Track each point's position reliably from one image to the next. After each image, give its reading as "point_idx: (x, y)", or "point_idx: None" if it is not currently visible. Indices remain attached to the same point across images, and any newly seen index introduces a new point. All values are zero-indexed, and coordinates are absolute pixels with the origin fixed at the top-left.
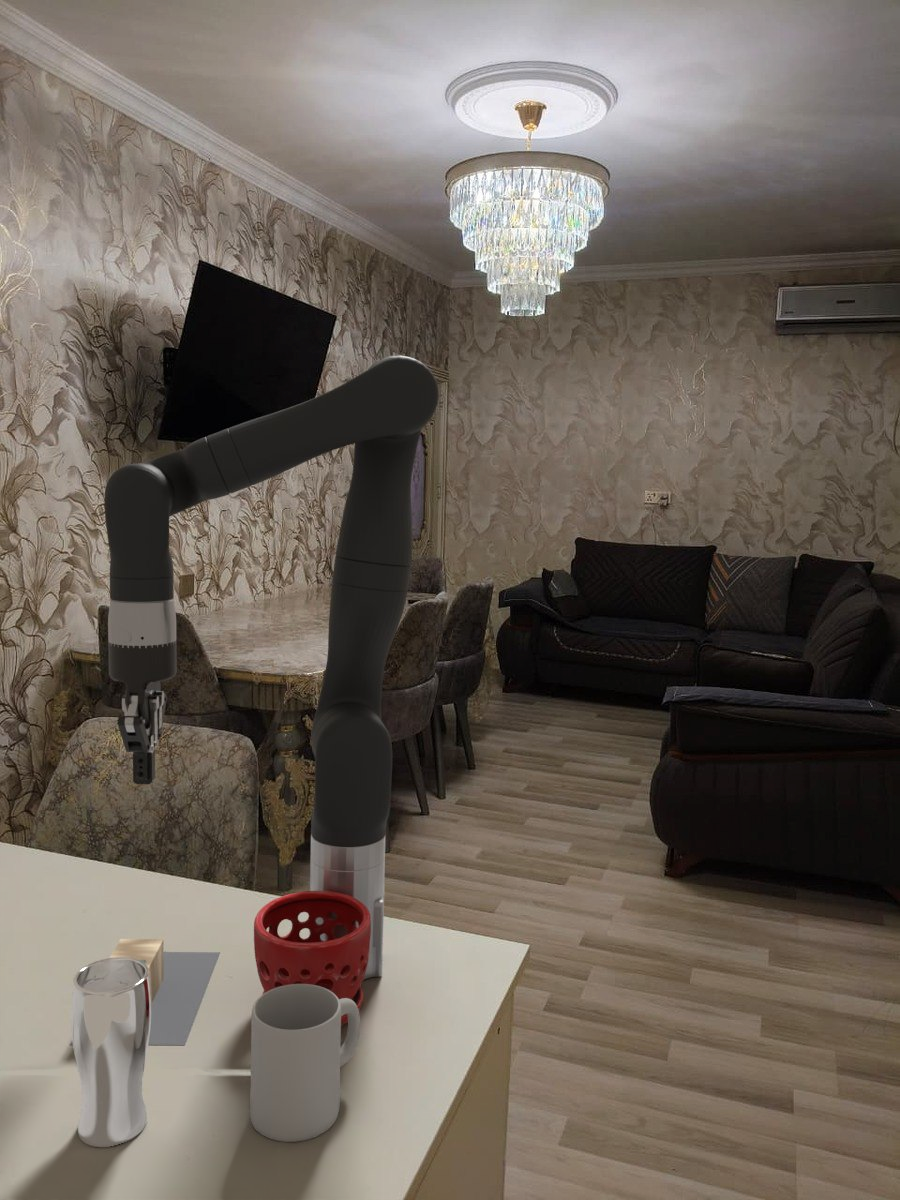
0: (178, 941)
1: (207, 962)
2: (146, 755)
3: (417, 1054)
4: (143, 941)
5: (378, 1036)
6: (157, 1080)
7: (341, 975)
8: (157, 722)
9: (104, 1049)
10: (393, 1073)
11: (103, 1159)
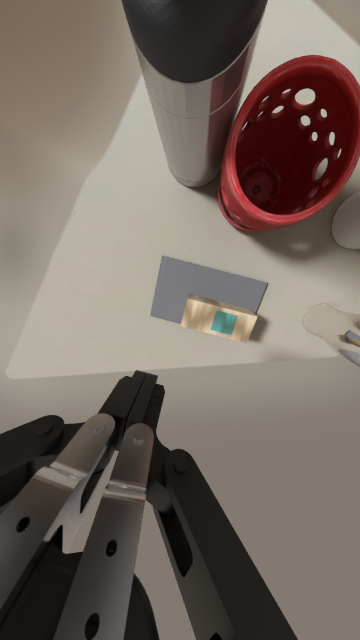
0: (137, 282)
1: (174, 265)
2: (155, 433)
3: None
4: (187, 311)
5: None
6: (290, 297)
7: (327, 145)
8: (57, 521)
9: None
10: None
11: None
